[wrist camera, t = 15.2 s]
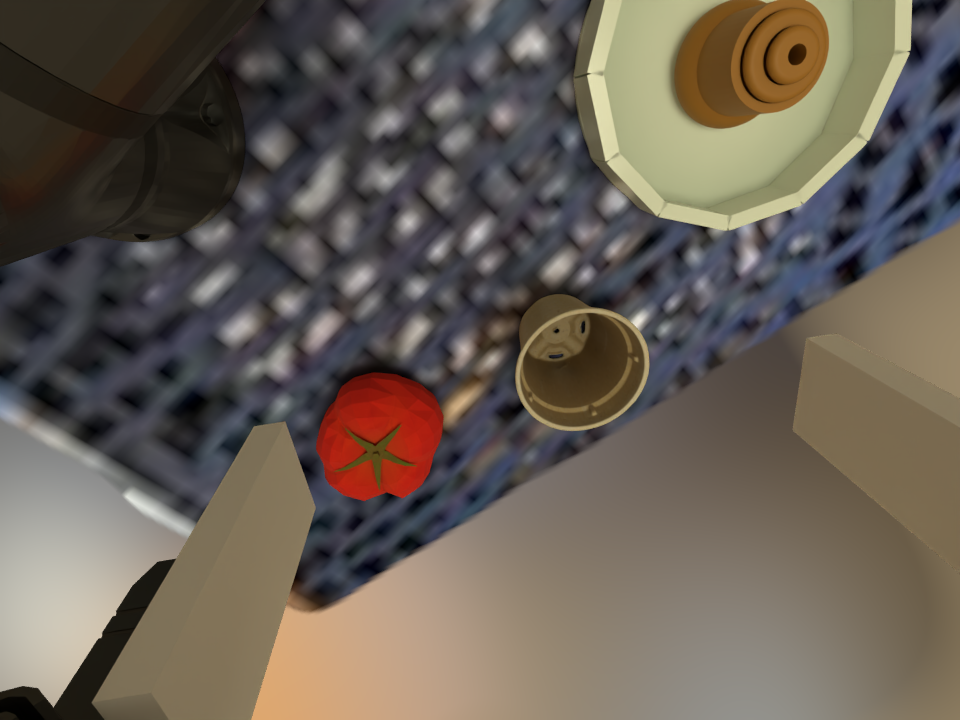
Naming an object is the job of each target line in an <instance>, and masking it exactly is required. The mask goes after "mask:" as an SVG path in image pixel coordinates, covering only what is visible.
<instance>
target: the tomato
mask: <svg viewBox="0 0 960 720" xmlns="http://www.w3.org/2000/svg"><path fill="white" fill-rule="evenodd" d="M443 418H444V417H443V414H442V412H441V409H440V407H439V405H438V402H437V400H436V397H435V396H434V395H433V394H432V393H431V392H430V391H428V390H427V389H426V388H425V387H423V386H422V385H421V384H420V383H417V382H415V381H412V380H409V379H407V378H404V377H402V376H399V375H397V374H387V373H376V372H373V373H369V374H365V375H361V376H358V377H354V378H353V379H351V380H350V381H348V382H347V383H346V384H344V385H343V386H342V387H341V389H340V390H339V393H338V395H337V398H336V401H335V402H334V403H332V404H331V405H330V406H329V408H328V410H327V412H326V414H325V416H324V418H323V421H322V423H321V426H320V430H319V434H318V438H317V445H316V450H317V452H318V454H319V456H320V458H321V460H322V462H323V464H324V470H325V478H326V480H327V481H328V483H329V484H330V485H331V486H332V487H334V488H335V489H336V490H338V491H339V492H340V493H342V494H343V495H345V496H348V497H352V498H356V499H359V500H363V501H365V500H367V499H370V498H373V497H375V496H378V495H380V494H383V493H386V492H388V493H391V494H393V495H396V496H398V497H401V498H403V497H405V496H407V495H408V494H410V493H411V492H413V491H414V490H416V489H417V488H419V487H420V486H421V485H422V483H423V482H424V480H425V478H426V477H427V475H428V474H429V472H430V468H431V464H432V459H433V455H434V453H435V451H436V449H437V446H438V444H439V442H440V439H441V436H442V429H443Z"/></svg>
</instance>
